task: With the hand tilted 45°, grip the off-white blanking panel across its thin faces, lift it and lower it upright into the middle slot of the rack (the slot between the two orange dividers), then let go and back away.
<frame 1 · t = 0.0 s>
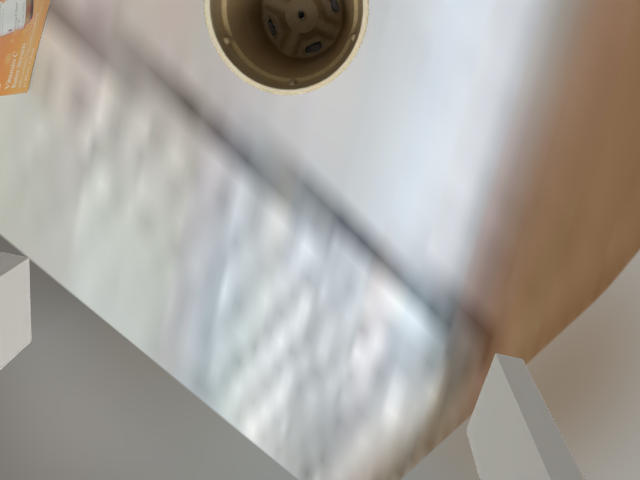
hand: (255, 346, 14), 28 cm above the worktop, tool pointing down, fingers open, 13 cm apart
flower pot: (301, 16, 37), on the worktop
small box: (8, 28, 39), on the worktop
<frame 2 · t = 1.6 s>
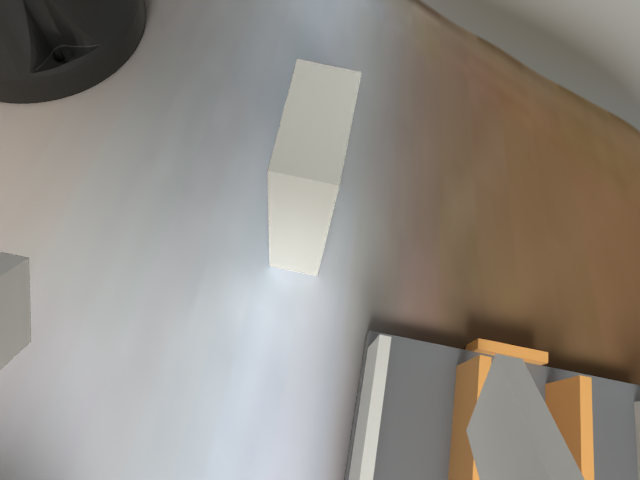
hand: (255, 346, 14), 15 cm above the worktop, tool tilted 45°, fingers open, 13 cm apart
blanking panel: (303, 227, 32), on the worktop
rack: (493, 471, 28), on the worktop
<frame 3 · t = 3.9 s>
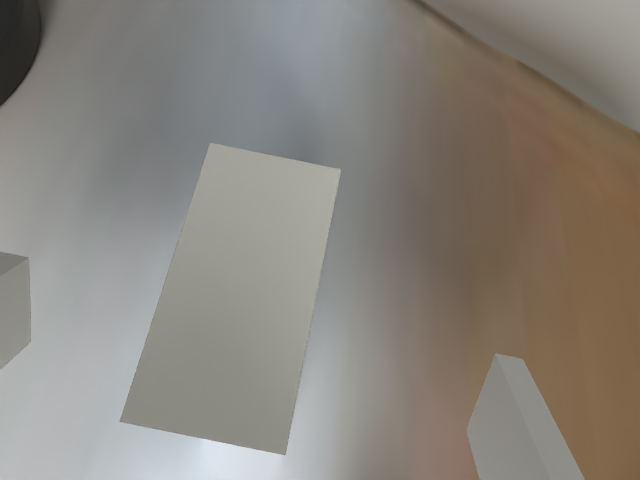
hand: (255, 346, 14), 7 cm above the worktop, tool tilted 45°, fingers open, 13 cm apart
blanking panel: (259, 368, 21), on the worktop
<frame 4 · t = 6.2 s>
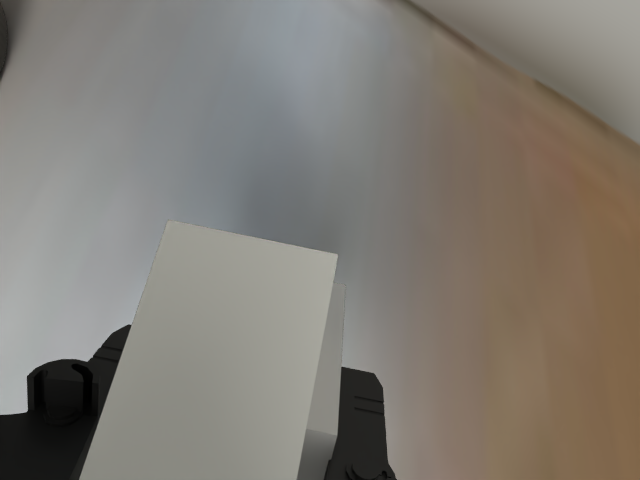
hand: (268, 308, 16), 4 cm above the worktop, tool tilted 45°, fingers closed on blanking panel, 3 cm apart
blanking panel: (245, 438, 18), on the worktop, touching gripper
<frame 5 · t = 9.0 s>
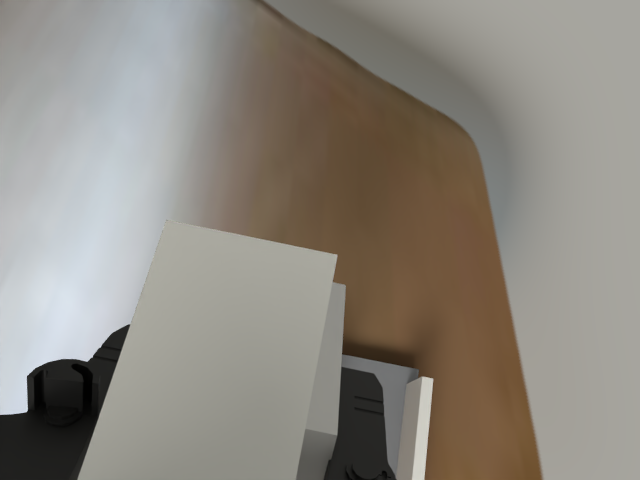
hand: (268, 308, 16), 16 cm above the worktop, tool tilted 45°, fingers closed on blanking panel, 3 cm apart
blanking panel: (245, 439, 18), point 12 cm above the worktop, touching gripper
rack: (268, 449, 30), on the worktop
when the fingers open (6 cm above the worktop, at t = 12.0 s): blanking panel drops 1 cm, resting on rack.
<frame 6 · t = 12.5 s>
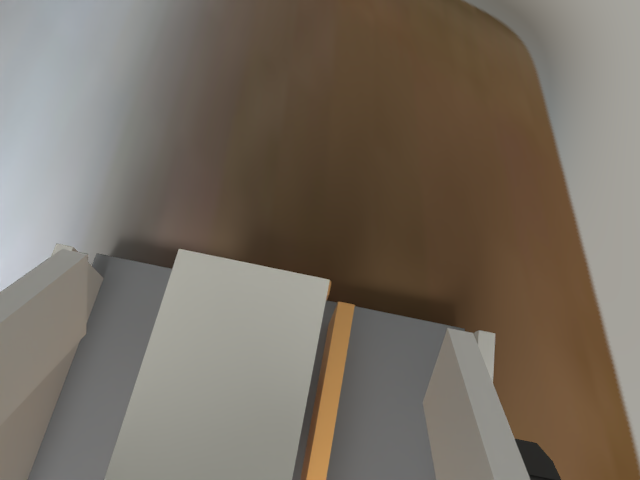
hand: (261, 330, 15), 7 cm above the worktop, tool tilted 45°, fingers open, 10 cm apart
blanking panel: (246, 440, 19), point 1 cm above the worktop, touching rack
rack: (248, 440, 20), on the worktop
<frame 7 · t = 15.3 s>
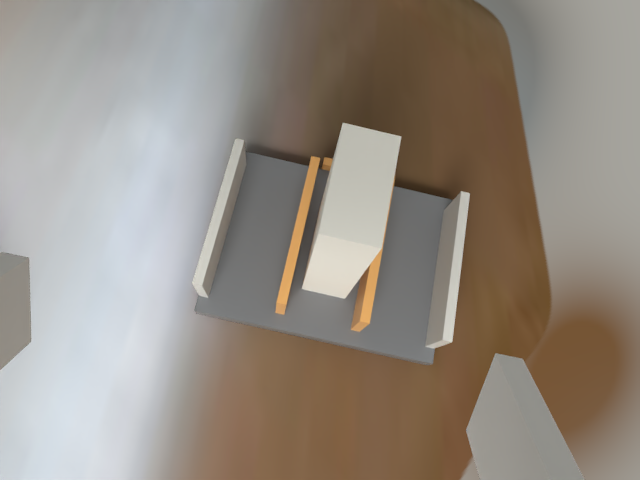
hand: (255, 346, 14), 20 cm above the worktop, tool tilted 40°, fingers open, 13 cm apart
blanking panel: (331, 252, 35), point 1 cm above the worktop, touching rack
rack: (330, 256, 36), on the worktop
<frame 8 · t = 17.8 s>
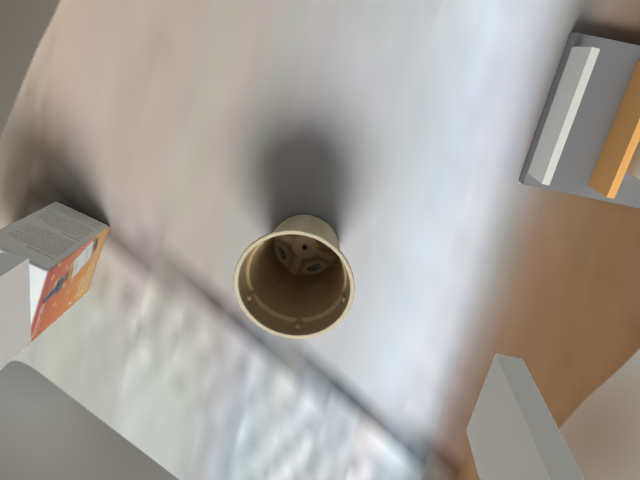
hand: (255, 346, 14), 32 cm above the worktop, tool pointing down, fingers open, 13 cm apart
rack: (638, 130, 42), on the worktop
flower pot: (305, 244, 48), on the worktop
small box: (74, 245, 49), on the worktop
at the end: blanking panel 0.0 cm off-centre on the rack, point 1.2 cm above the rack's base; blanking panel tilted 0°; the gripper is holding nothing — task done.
